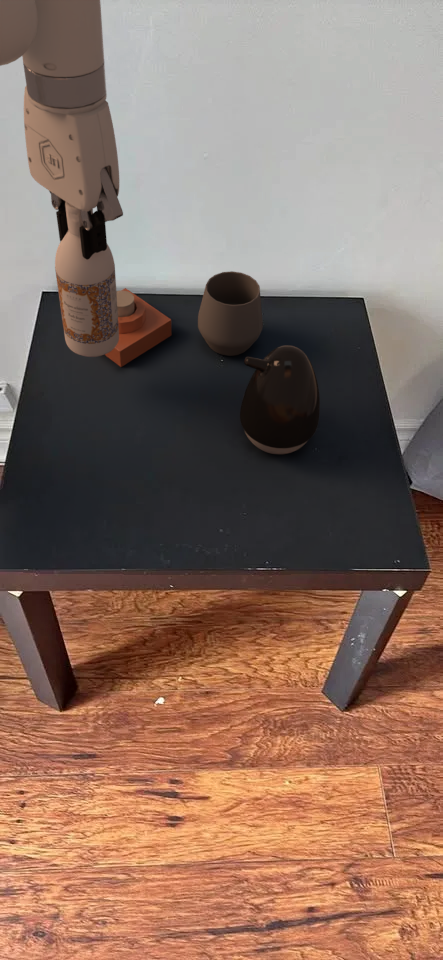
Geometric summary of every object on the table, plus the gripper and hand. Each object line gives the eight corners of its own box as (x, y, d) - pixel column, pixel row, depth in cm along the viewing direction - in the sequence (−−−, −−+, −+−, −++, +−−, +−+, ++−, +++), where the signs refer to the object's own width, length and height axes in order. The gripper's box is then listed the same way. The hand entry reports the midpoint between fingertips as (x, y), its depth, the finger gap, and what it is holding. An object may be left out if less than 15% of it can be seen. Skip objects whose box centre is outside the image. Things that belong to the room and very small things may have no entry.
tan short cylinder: (121, 321, 106) (120, 310, 104) (104, 309, 107) (103, 297, 106) (139, 310, 108) (139, 298, 106) (123, 298, 109) (122, 287, 107)
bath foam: (55, 349, 96) (34, 209, 80) (80, 317, 100) (65, 178, 84) (104, 365, 95) (92, 226, 79) (128, 331, 99) (121, 193, 83)
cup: (185, 349, 110) (186, 294, 102) (216, 314, 115) (219, 259, 107) (242, 373, 107) (247, 318, 99) (271, 336, 112) (278, 281, 105)
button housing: (120, 367, 107) (119, 340, 103) (75, 333, 111) (72, 306, 107) (171, 335, 111) (171, 308, 108) (126, 303, 115) (124, 276, 111)
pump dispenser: (232, 410, 103) (240, 324, 91) (306, 407, 104) (324, 322, 92) (240, 468, 96) (250, 383, 84) (320, 464, 97) (340, 380, 86)
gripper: (-19, 61, 73) (13, 227, 87) (92, 125, 66) (106, 293, 81) (43, 41, 77) (63, 204, 91) (153, 99, 70) (156, 265, 84)
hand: (83, 244), depth 86 cm, fingers closed on bath foam, 3 cm apart
